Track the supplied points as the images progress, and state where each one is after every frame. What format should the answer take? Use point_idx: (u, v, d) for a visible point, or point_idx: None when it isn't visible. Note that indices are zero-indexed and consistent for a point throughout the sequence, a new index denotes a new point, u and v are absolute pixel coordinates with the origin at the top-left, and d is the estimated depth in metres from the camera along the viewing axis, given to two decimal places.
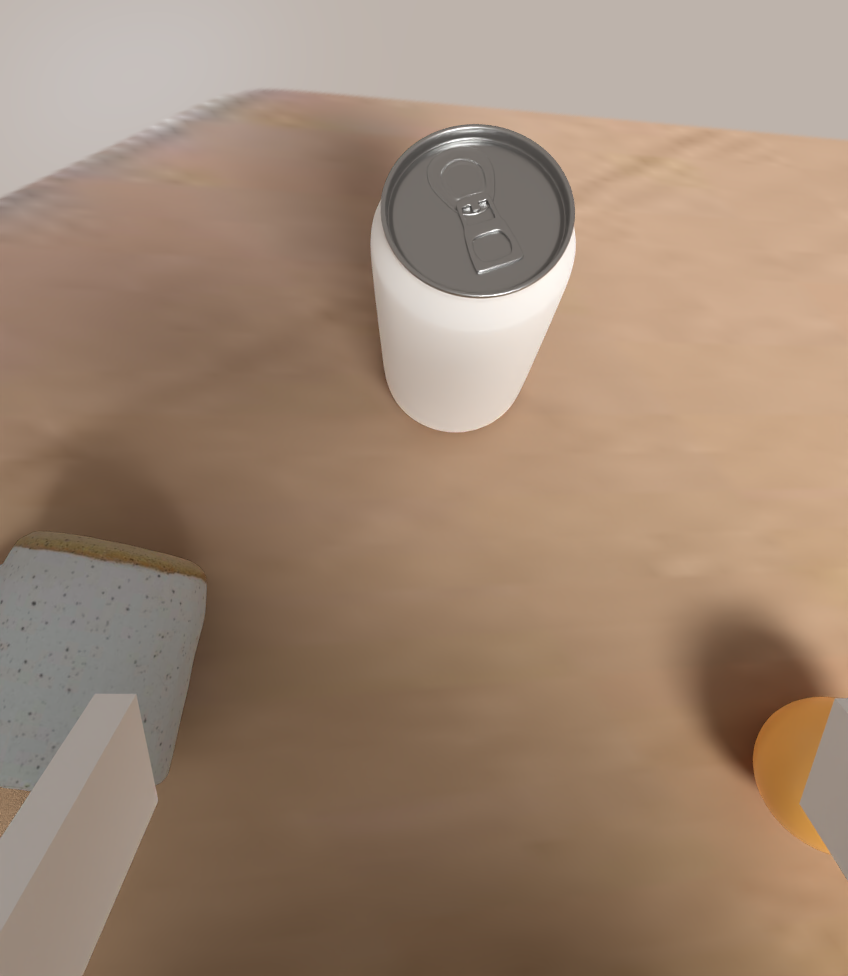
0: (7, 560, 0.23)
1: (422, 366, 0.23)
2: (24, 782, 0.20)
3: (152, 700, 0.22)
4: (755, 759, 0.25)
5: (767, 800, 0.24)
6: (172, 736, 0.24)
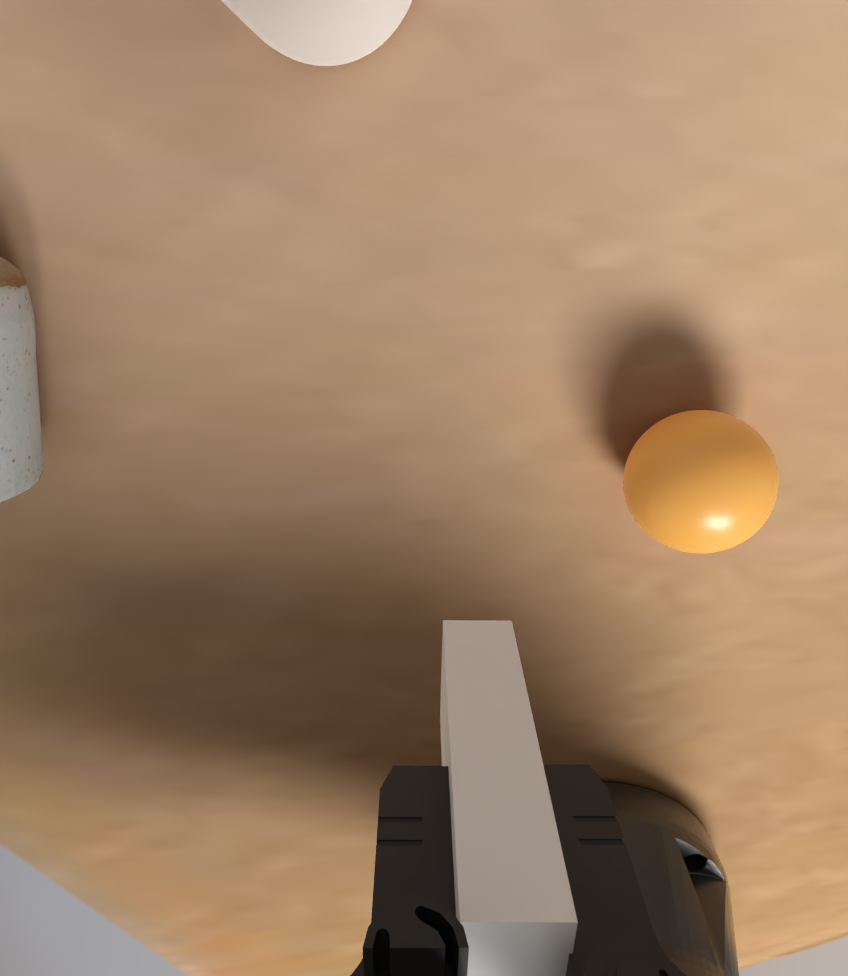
0: None
1: None
2: None
3: None
4: (626, 465, 0.26)
5: (626, 502, 0.26)
6: (28, 448, 0.24)
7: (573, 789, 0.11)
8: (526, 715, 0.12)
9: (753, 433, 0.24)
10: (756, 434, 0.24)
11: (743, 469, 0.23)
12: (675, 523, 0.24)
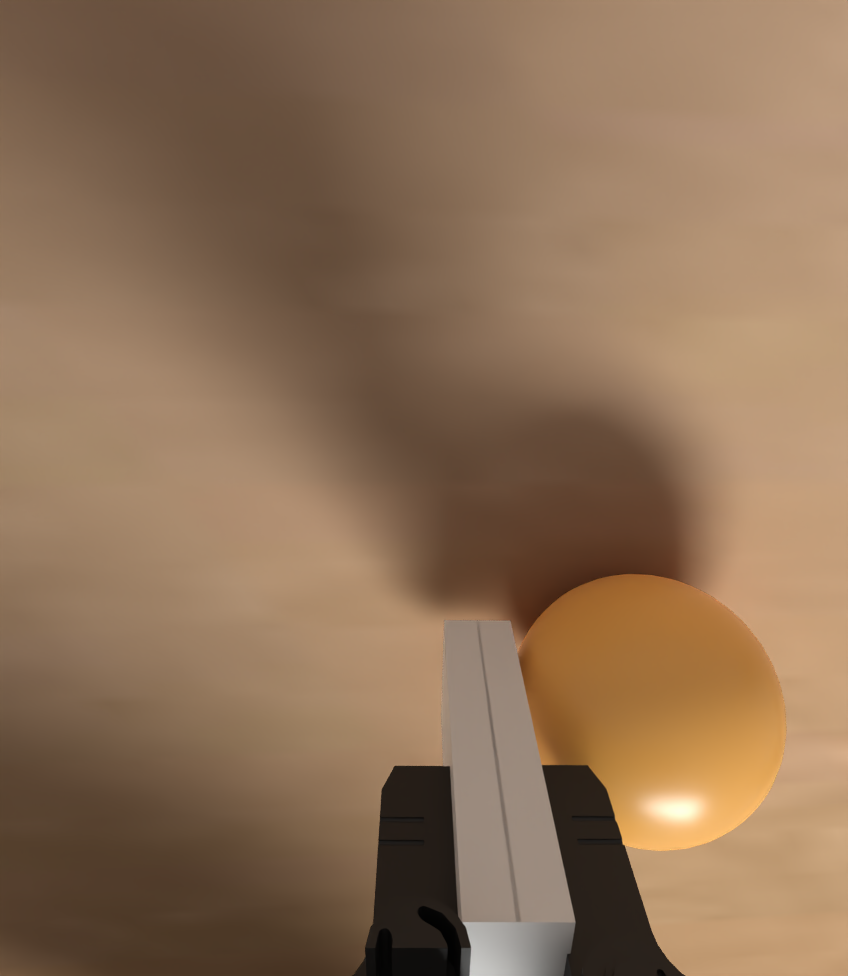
0: None
1: None
2: None
3: None
4: None
5: None
6: None
7: (572, 789, 0.11)
8: (524, 715, 0.12)
9: (741, 624, 0.13)
10: (742, 623, 0.13)
11: (763, 712, 0.12)
12: (651, 831, 0.12)
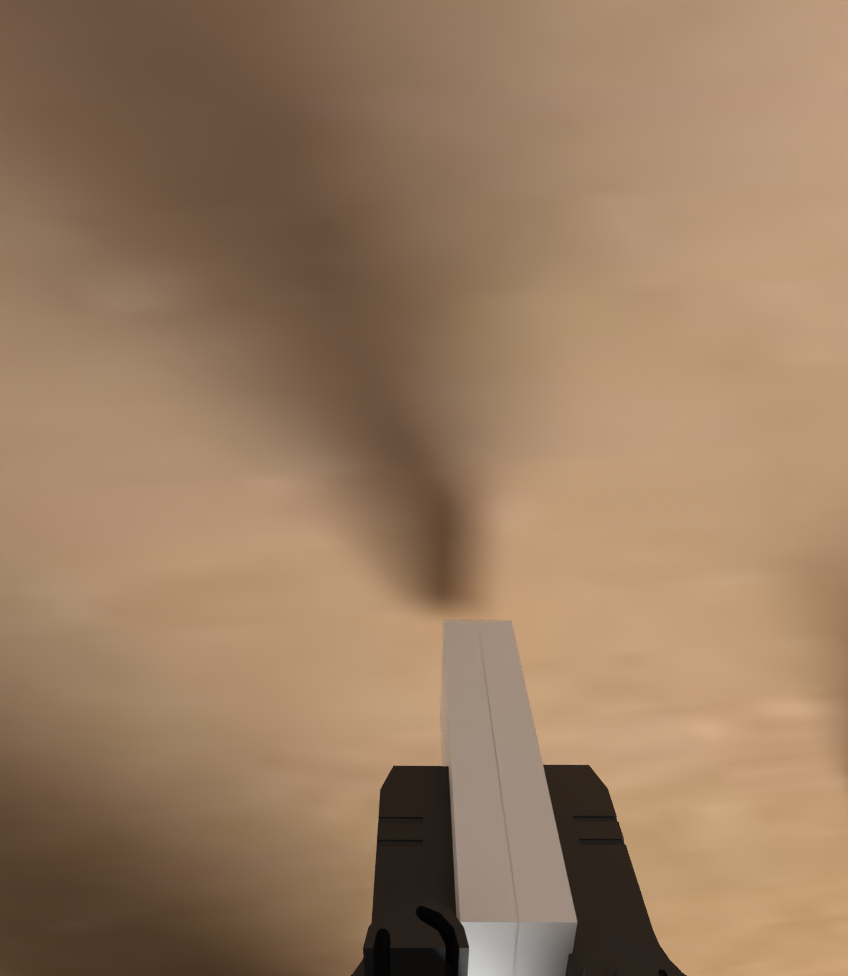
0: None
1: None
2: None
3: None
4: None
5: None
6: None
7: (572, 789, 0.11)
8: (526, 715, 0.12)
9: None
10: None
11: None
12: None
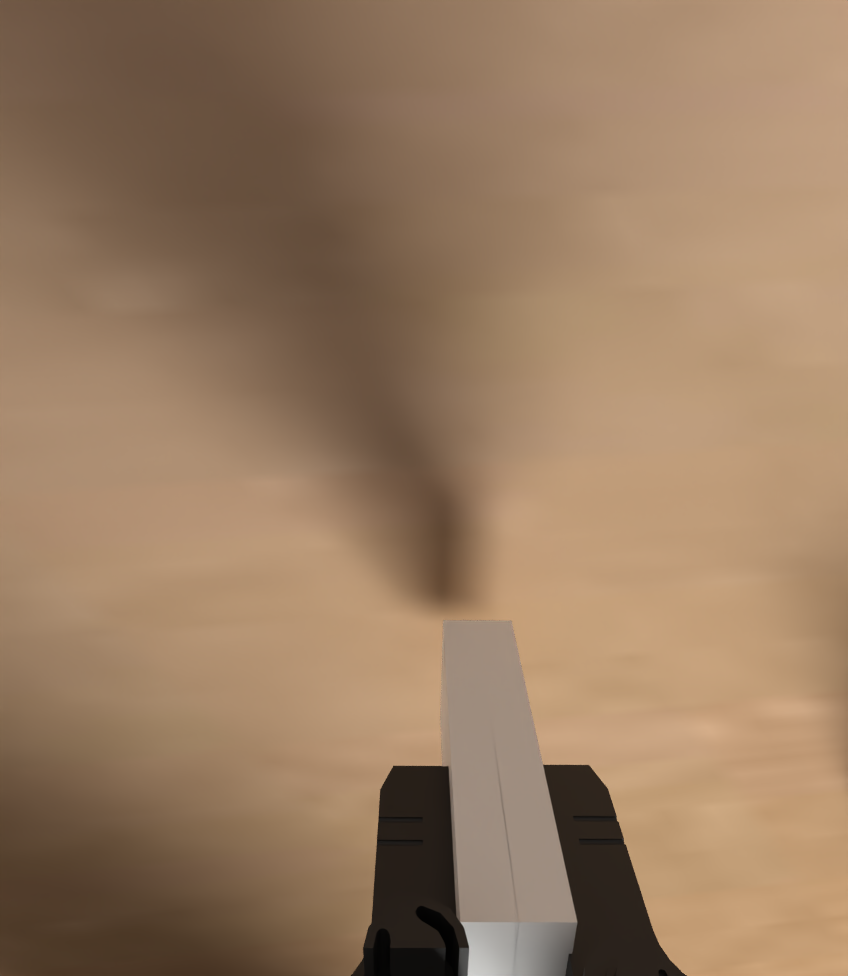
0: None
1: None
2: None
3: None
4: None
5: None
6: None
7: (572, 789, 0.11)
8: (526, 715, 0.12)
9: None
10: None
11: None
12: None
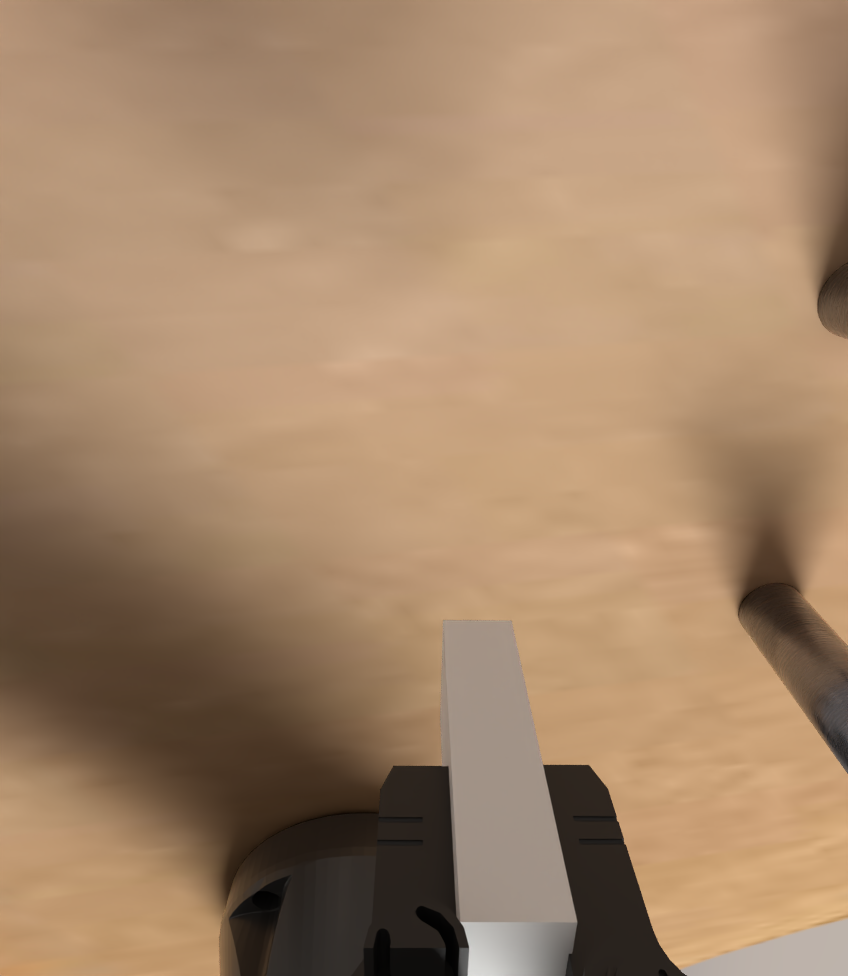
0: None
1: None
2: None
3: None
4: None
5: None
6: None
7: (573, 789, 0.11)
8: (526, 715, 0.12)
9: None
10: None
11: None
12: None
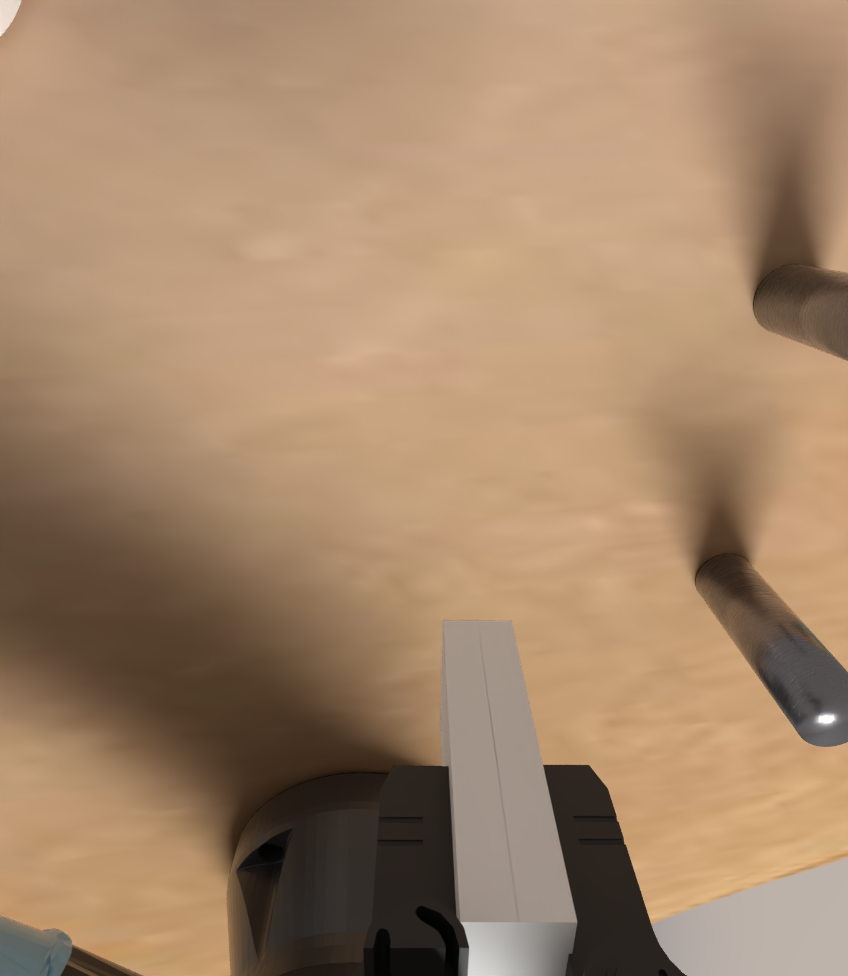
0: None
1: None
2: None
3: None
4: None
5: None
6: None
7: (573, 789, 0.11)
8: (526, 715, 0.12)
9: None
10: None
11: None
12: None
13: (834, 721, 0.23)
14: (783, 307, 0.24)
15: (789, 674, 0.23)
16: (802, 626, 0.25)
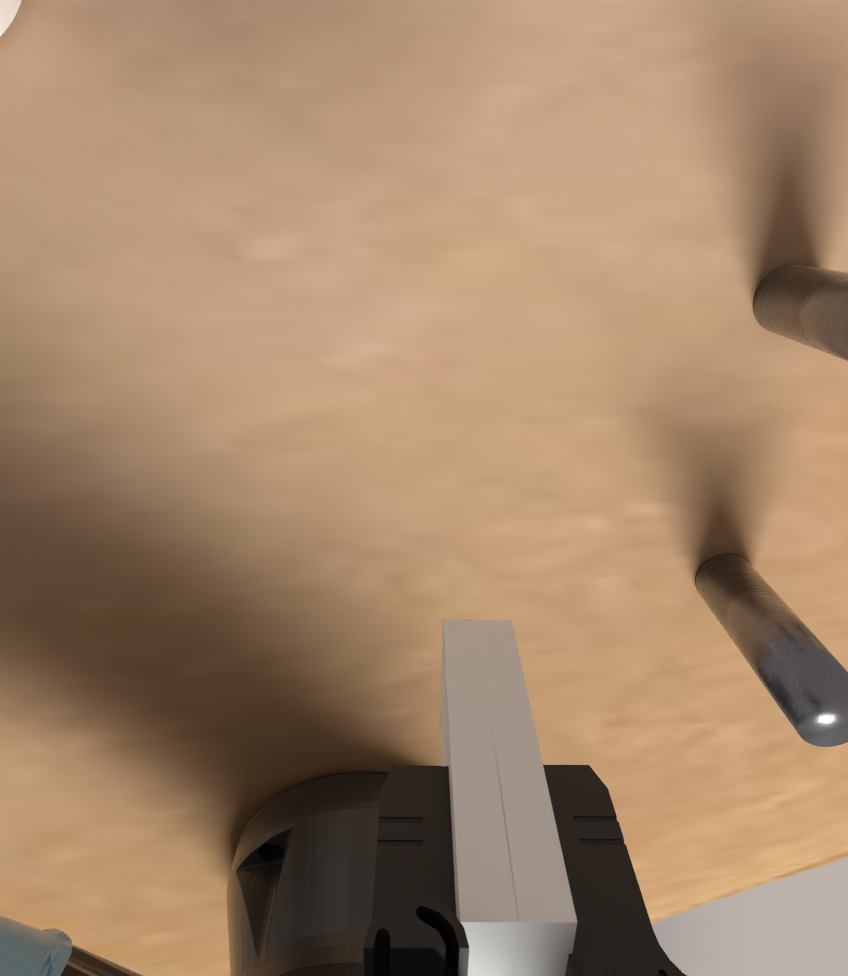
0: None
1: None
2: None
3: None
4: None
5: None
6: None
7: (573, 789, 0.11)
8: (526, 715, 0.12)
9: None
10: None
11: None
12: None
13: (834, 721, 0.23)
14: (783, 307, 0.24)
15: (789, 674, 0.23)
16: (802, 626, 0.25)
